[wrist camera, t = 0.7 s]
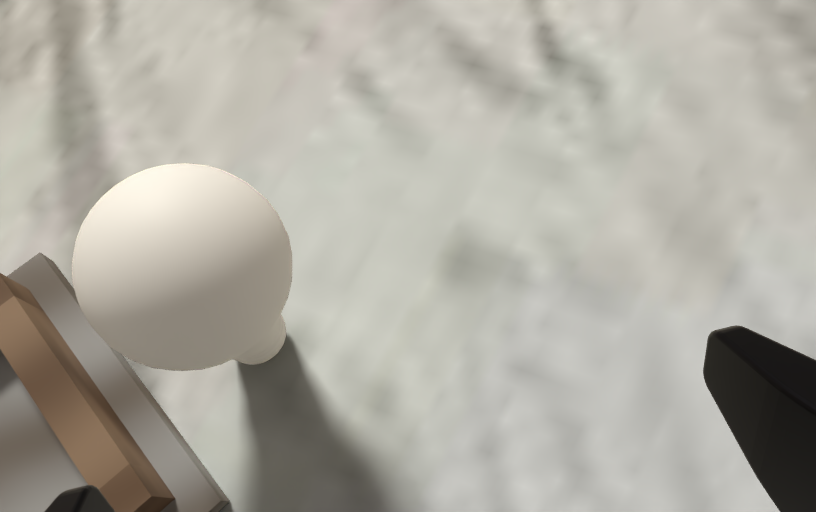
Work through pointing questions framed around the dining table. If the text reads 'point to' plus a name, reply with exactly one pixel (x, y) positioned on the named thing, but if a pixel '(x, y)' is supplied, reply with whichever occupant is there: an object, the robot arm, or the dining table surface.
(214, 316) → the lightbulb
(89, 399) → the socket holder
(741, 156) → the dining table surface
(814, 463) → the robot arm
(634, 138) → the dining table surface
